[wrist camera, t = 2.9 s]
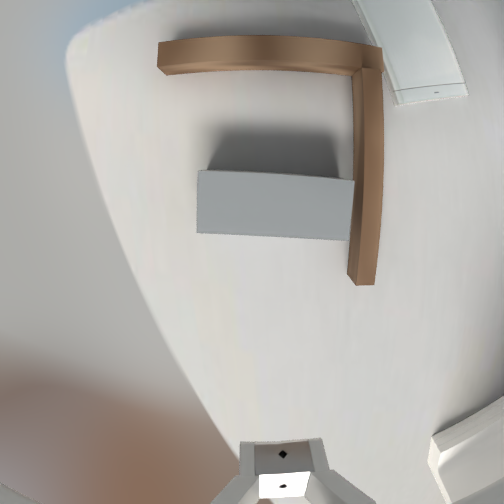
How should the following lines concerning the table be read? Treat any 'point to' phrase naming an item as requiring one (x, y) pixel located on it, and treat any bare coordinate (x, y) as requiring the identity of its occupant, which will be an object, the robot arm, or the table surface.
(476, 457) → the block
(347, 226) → the block
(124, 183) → the table surface
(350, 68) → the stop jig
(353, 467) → the table surface
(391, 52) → the hard drive
